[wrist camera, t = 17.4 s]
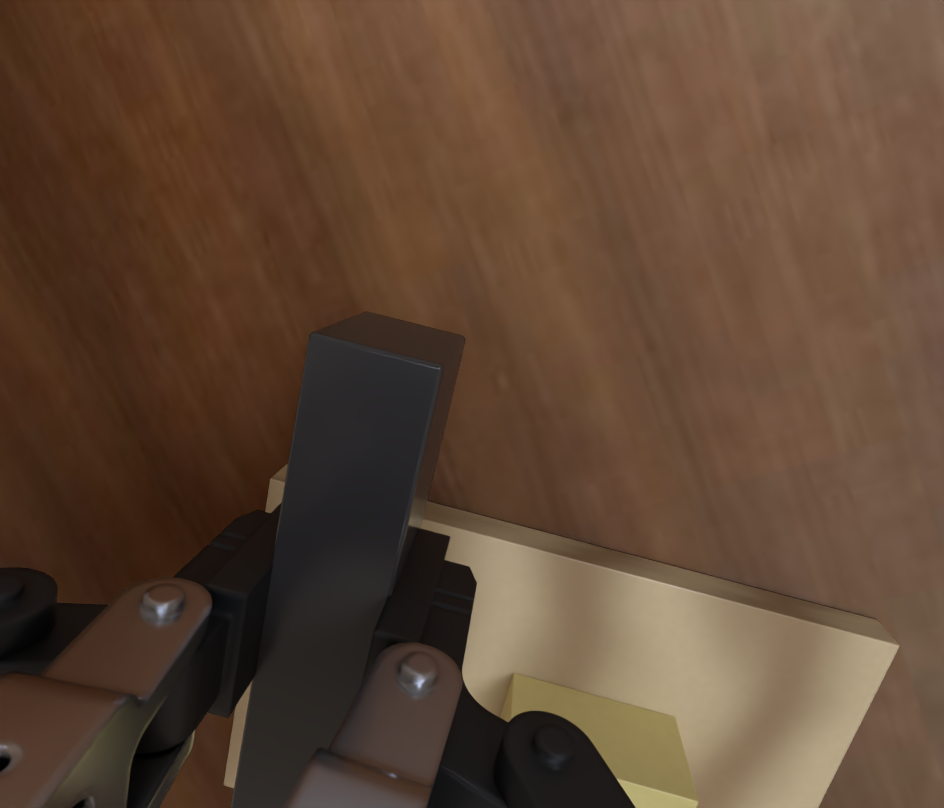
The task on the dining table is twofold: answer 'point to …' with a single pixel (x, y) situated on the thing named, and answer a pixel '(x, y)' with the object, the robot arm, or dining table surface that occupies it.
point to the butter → (617, 740)
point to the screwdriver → (341, 533)
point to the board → (663, 654)
